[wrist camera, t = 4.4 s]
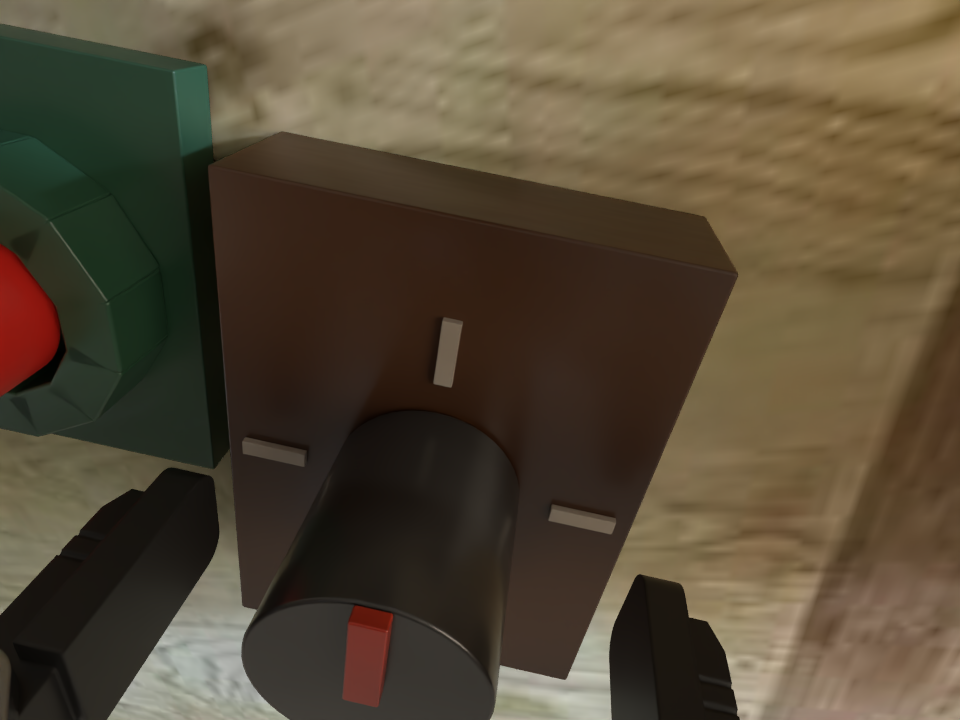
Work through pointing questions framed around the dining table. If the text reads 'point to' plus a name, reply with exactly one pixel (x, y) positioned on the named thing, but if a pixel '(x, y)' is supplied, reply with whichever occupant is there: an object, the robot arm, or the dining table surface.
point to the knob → (393, 580)
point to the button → (24, 323)
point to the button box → (114, 244)
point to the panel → (457, 349)
